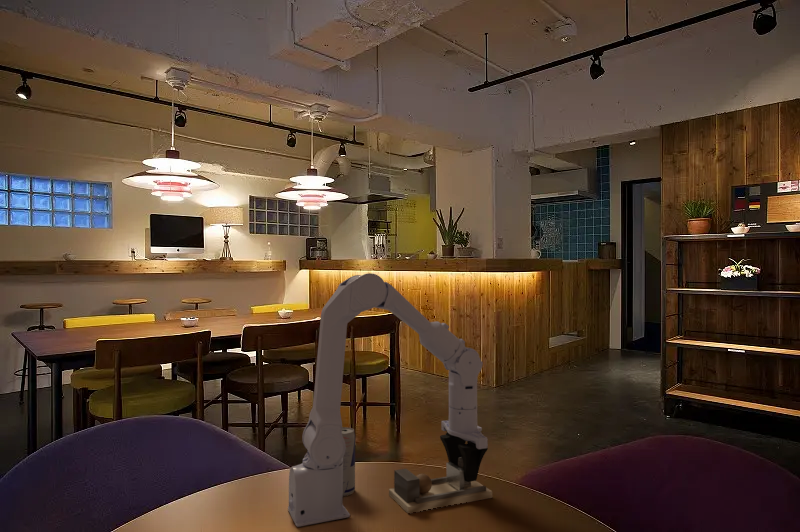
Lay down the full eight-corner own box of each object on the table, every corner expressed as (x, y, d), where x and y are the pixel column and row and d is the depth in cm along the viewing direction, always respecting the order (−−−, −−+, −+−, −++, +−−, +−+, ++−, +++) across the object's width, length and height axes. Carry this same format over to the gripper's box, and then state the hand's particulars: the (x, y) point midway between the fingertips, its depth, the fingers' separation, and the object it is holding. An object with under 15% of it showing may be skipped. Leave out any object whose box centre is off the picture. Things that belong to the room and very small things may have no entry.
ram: (459, 491, 95) (459, 462, 95) (446, 481, 99) (446, 454, 100) (475, 488, 96) (474, 460, 96) (461, 479, 101) (461, 452, 101)
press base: (408, 513, 88) (408, 484, 88) (388, 495, 96) (389, 468, 97) (492, 497, 95) (492, 470, 96) (467, 481, 103) (467, 456, 104)
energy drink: (357, 487, 100) (357, 427, 101) (352, 497, 95) (352, 434, 96) (331, 486, 101) (332, 426, 102) (324, 496, 96) (325, 433, 96)
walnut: (418, 498, 92) (418, 478, 92) (410, 491, 95) (410, 472, 95) (435, 495, 93) (435, 475, 94) (426, 488, 97) (426, 469, 97)
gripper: (500, 412, 94) (501, 485, 93) (461, 398, 107) (461, 461, 106) (469, 416, 91) (469, 491, 90) (432, 400, 104) (432, 466, 103)
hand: (463, 475), depth 98 cm, fingers closed on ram, 5 cm apart
